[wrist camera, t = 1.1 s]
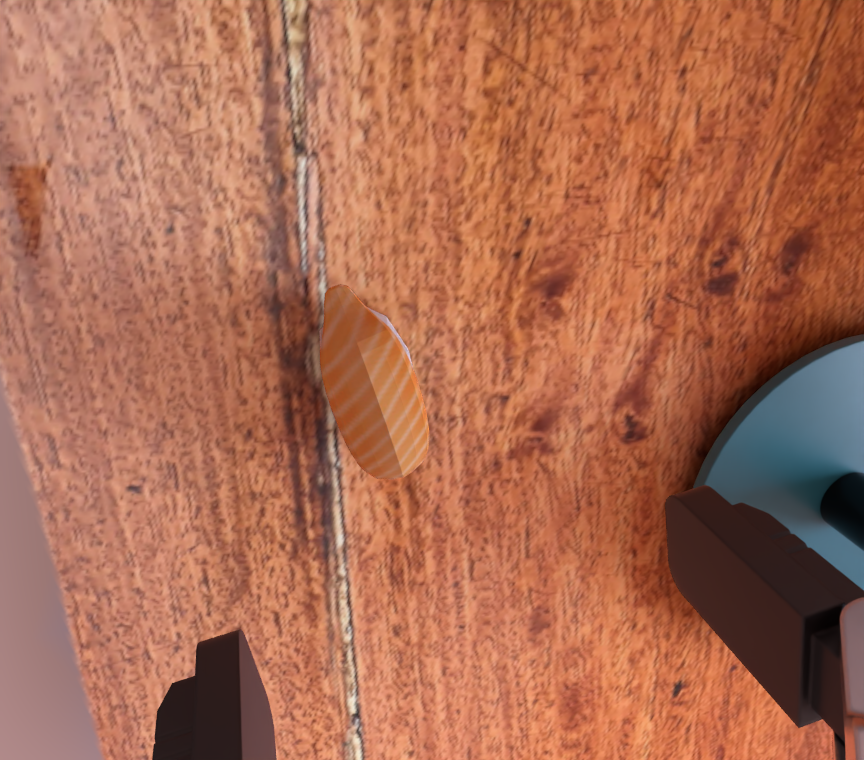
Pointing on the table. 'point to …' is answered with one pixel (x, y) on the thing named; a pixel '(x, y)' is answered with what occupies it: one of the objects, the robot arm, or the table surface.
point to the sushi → (372, 387)
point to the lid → (802, 453)
